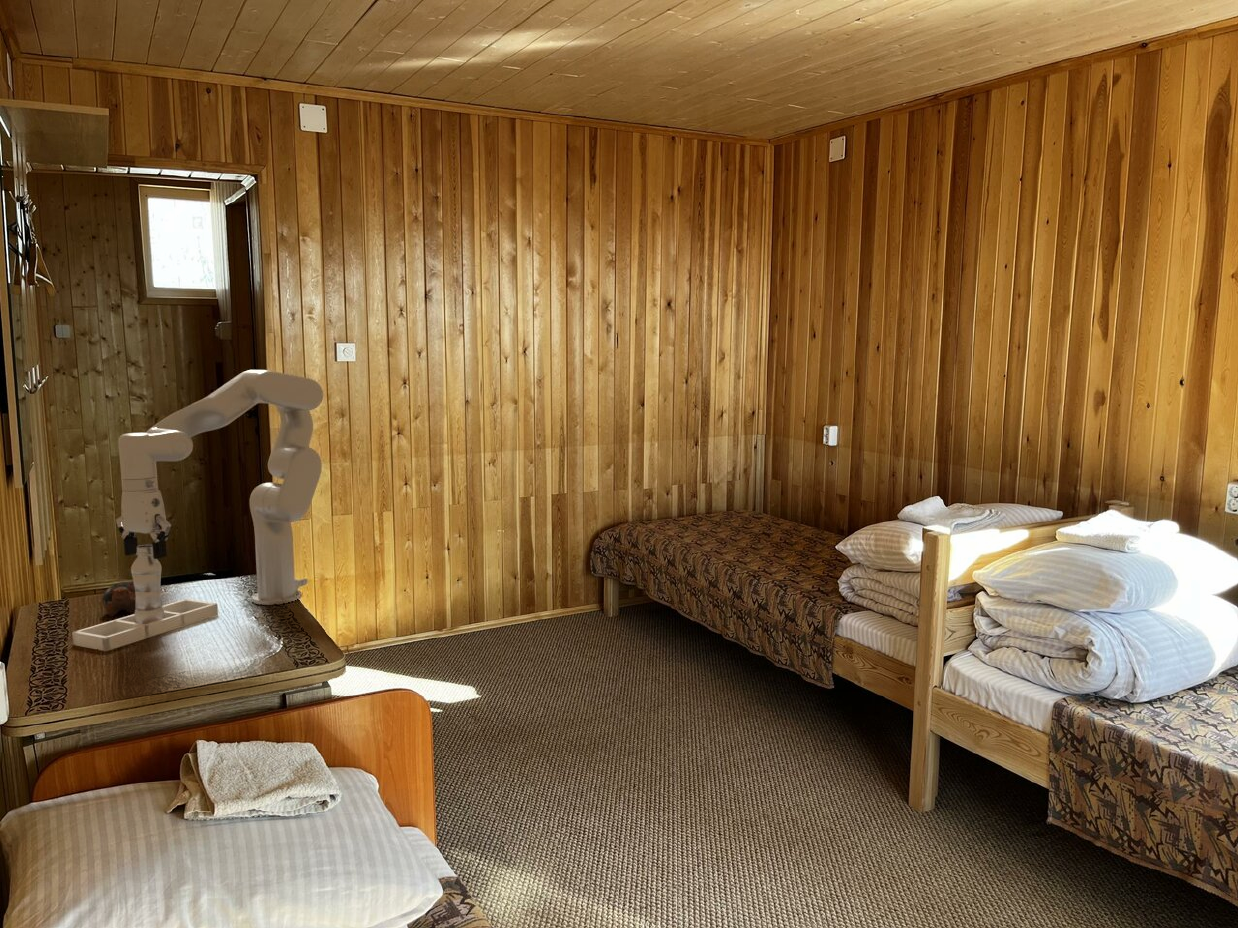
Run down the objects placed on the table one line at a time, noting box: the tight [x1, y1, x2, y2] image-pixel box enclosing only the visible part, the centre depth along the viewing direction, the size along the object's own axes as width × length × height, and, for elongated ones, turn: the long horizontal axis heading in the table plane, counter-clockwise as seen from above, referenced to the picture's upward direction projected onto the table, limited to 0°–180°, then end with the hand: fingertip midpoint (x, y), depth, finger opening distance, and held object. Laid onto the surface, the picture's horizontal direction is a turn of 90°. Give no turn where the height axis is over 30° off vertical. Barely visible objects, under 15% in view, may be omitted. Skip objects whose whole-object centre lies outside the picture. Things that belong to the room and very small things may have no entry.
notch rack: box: [71, 598, 219, 652], centre depth 222 cm, size 31×11×3 cm, turn 156°
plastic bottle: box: [130, 544, 165, 624], centre depth 222 cm, size 6×7×20 cm
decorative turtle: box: [101, 581, 136, 617], centre depth 237 cm, size 10×15×8 cm, turn 27°
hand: (145, 555), depth 221 cm, fingers open, 9 cm apart
